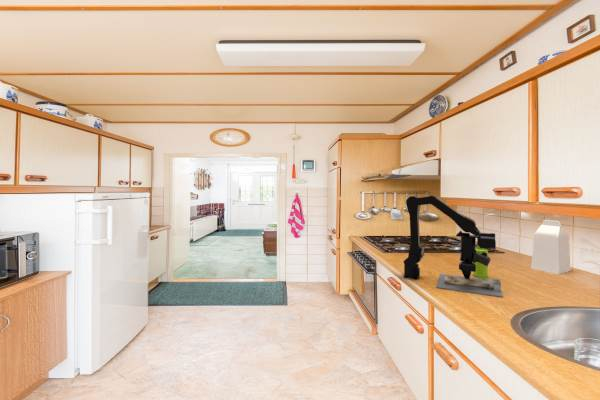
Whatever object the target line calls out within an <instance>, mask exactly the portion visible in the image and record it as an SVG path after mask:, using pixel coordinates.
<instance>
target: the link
mask: <svg viewBox="0 0 600 400" xmlns="http://www.w3.org/2000/svg"><path fill="white" fill-rule="evenodd" d="M445 283H447V284H459V285H469V286H479V287H488V288H490V284H486V283H482V282H481V280H473V279H462V278H453V277H452V276H448V277H445Z"/></svg>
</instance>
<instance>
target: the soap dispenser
mask: <svg viewBox="0 0 600 400" xmlns="http://www.w3.org/2000/svg"><path fill="white" fill-rule="evenodd" d="M475 249H476V252H477V253H480V254H481V253H482V252H485V253H487V257H489V249H485V248H480V246H478V245H477V244H476V248H475ZM474 264H475V265H476V271H475V272H473V277H474V278H479V279H481V277H482V278H489V277H488V275H489V273H488V272H489V270H488V269H489V267H488V266H489V265H488V266H485V265H484V264H481V263H479V262H477V261H476V263H474Z"/></svg>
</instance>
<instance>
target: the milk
mask: <svg viewBox="0 0 600 400" xmlns="http://www.w3.org/2000/svg"><path fill="white" fill-rule="evenodd" d="M533 233H534V234H533V241H532V242H533V243H532V252H531V253H532V254H531V266H530V269H531V268H532V270H535V271H536V270H537V271H541V272H547V273H549V274H550V273H551V274H555V275H561V273H562V274H566V273H569V272H568V271H570V272H571V252H570V236H569V234H568V232H567V230H565V229H564V228H563V226H562V224H561V222H560V221H559V220H554V219H553V220H552V219H551V220H550V219H543V221H542V223H541V224H540V226H539V227H538V228H537V229H536V231H534V232H533ZM565 272H566V273H565Z"/></svg>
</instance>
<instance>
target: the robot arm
mask: <svg viewBox="0 0 600 400" xmlns="http://www.w3.org/2000/svg"><path fill="white" fill-rule="evenodd" d="M405 204H406V209H407V211H408V215H409V228H410V229H409V234H410V246H409V249H408V255H407V256H408V257H406V259H404V260H403V265H404V268H403V271H404V275H403V278H404V279H405V278H408V279H414V280H418V279H419V278H420V276H421V268H420V266H419V263H420V262H421V261H422V259H423V257H424V256H425V255H426V254H425V246H422V245H421V243H420V242H421V239H420V218H419V217H420V211H421V206H424V205H426V206H427V205H432V206H433V207H434V208H436V209H437V210H439V211H440V212H441V213H443V214H445V216H446V217H448V218H450V219H451V220H452V221H453V222H454V223H455V225H457V226H458V227H459V229H461V230H459V231H458V233H456V234H455V236H456V237H459V238H460V250H459V251H460V252H459V253H460V257H459V261H460V262H459V264H458V270H460V271H461V273H462V276H463V277H464V278H465V279H469V278H470V277H471V275H472V274H471V273H472V272H473V273H474V272H475V271H476V265H475V264H474V263H476V261H477V262H479V263H481V264H484V265H485V266H489V264H490V262H491V257H490V256H488V257H487V253H485V252H482V253H481V254H480V253H477V252H476V249H477V248H476V246H477V245H478V246H480V248H485V249H486V250H496V247H497V246H496V245H497V243H496V233H494V232H489V233H488V232H481V230H480V229H479V228H478V227H477V224H476V221H475V219H472V218H471V217H469V216H466V215H464V214H462V213H459V212H458V211H457V210H455V209H453V207H451V206H450V205H449V204H446V203H445V202H444V201H442V200H441V199H440V198H438V197H437V196H436V195H429V196H422V197H419V196H417V195H413V196H412V195H411V196H409V197H407V198H406V200H405ZM462 231H463V232H462ZM476 240H477V241H476Z"/></svg>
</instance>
